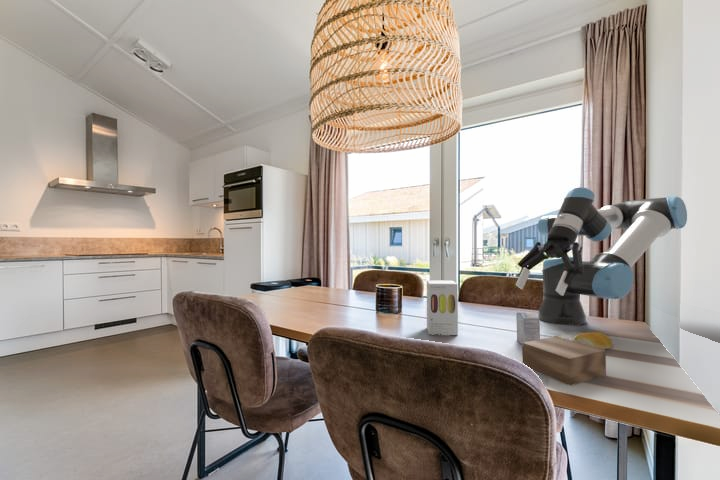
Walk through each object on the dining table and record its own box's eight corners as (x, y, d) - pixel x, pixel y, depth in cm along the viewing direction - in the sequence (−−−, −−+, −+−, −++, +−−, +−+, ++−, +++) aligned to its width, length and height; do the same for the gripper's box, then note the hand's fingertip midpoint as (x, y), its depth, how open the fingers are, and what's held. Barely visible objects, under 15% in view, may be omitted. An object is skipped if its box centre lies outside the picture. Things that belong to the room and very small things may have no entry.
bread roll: (618, 347, 94) (617, 333, 94) (598, 352, 91) (597, 338, 91) (587, 339, 102) (587, 326, 102) (568, 344, 98) (568, 330, 98)
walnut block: (556, 359, 87) (556, 336, 87) (606, 376, 76) (605, 350, 76) (522, 367, 82) (522, 342, 82) (570, 387, 71) (569, 358, 71)
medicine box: (540, 349, 94) (540, 318, 94) (523, 348, 95) (523, 317, 95) (532, 340, 102) (531, 311, 102) (516, 339, 103) (516, 311, 102)
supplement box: (428, 335, 109) (427, 283, 109) (426, 327, 118) (425, 279, 118) (458, 335, 108) (458, 283, 107) (454, 328, 117) (453, 279, 117)
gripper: (523, 226, 116) (497, 278, 111) (600, 222, 93) (571, 289, 88) (536, 238, 118) (511, 290, 113) (614, 237, 95) (587, 303, 91)
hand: (537, 290), depth 101 cm, fingers open, 13 cm apart
